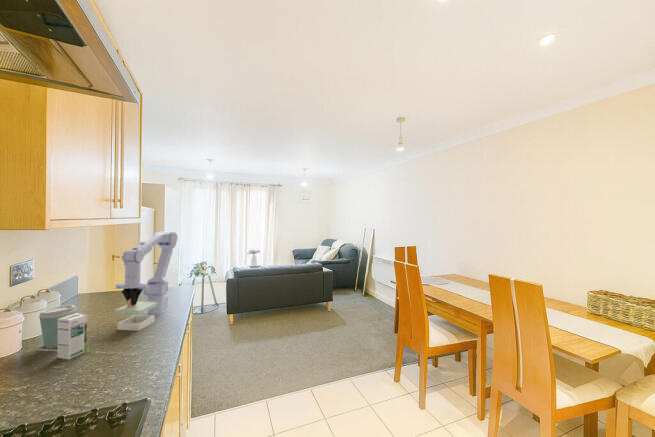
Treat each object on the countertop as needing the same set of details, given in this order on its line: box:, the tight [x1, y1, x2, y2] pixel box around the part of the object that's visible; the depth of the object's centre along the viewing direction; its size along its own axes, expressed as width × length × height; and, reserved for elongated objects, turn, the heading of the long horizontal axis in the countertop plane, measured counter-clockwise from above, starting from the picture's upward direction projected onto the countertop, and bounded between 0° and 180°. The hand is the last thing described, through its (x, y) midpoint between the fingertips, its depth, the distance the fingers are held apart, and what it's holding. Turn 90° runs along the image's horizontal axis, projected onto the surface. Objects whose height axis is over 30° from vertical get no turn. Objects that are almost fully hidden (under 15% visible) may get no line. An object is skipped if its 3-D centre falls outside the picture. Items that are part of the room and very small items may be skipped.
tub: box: [116, 314, 156, 332], centre depth 121 cm, size 10×10×4 cm
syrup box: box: [57, 312, 88, 361], centre depth 96 cm, size 6×6×14 cm
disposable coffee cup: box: [38, 304, 78, 350], centre depth 102 cm, size 11×11×15 cm
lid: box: [114, 299, 158, 315], centre depth 120 cm, size 11×11×5 cm
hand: (132, 304), depth 121 cm, fingers closed on lid
